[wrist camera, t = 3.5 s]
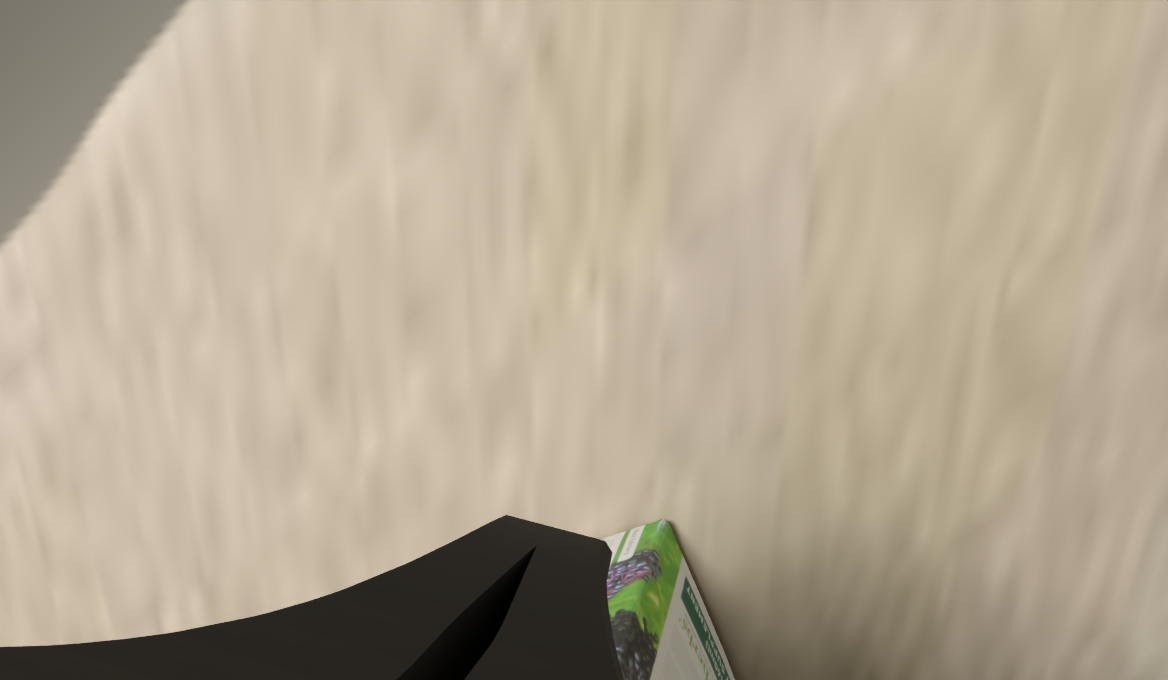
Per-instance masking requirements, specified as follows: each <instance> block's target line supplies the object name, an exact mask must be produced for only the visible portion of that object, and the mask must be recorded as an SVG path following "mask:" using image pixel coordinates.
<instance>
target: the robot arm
mask: <svg viewBox="0 0 1168 680" xmlns="http://www.w3.org/2000/svg"><path fill="white" fill-rule="evenodd" d="M611 558H612V551H611V549H610V548H609V546H608V545H607V543H606V541H603V540H599V539H596V538H592V537H588V536H584V535H580V534H577V533H573V532H569V531H565V530H561V529H557V528H554V527H550V526H546V525H542V524H538V523H535V522H531V521H527V520H523V519H519V518H516V517H512V516H508V515H506V516H503V517H501V518H498V519H496V520H494V521H492V522H490V523H488V524H486V525H484V526H482V527H480V528H478V529H476V530H474V531H472V532H470V533H468V534H467V535H465V536H463V537H461V538H459V539H457V540H455V541H453V542H451V543H449V544H447V545H445V546H442V547H440V548H438V549H436V550H434V551H432V552H430V553H428V554H426V555H424V556H422V557H420V558H418V559H416V560H414V561H411V562H409V563H407V564H405V565H402V566H400V567H397V568H395V569H393V570H390V571H388V572H385V573H383V574H380V575H378V576H375V577H373V578H371V579H368V580H366V581H363V582H361V583H358V584H356V585H354V586H351V587H349V588H346V589H344V590H341V591H338V592H335V593H332V594H330V595H327V596H323V597H320V598H317V599H314V600H311V601H308V602H305V603H301V604H298V605H294V606H291V607H287V608H284V609H280V610H277V611H273V612H270V613H266V614H262V615H258V616H254V617H249V618H244V619H239V620H234V621H229V622H224V623H219V624H214V625H209V626H204V627H200V628H195V629H190V630H185V631H180V632H174V633H167V634H160V635H153V636H145V637H138V638H130V639H122V640H111V641H101V642H91V643H81V644H67V645H52V646H23V647H0V680H624V677H623V674H622V670H621V666H620V663H619V659H618V656H617V651H616V647H615V642H614V638H613V632H612V626H611V620H610V614H609V608H608V598H607V577H608V572H609V567H610V562H611Z"/></svg>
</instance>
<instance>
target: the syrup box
mask: <svg viewBox="0 0 1168 680" xmlns="http://www.w3.org/2000/svg"><path fill="white" fill-rule="evenodd" d="M600 540H603V541H606V543H607V545H608V546H609V548H610V549H611V551H612V558H611V562H610V567H609V572H608V577H607V598H608V608H609V614H610V620H611V626H612V632H613V638H614V642H615V647H616V651H617V656H618V659H619V663H620V666H621V670H622V674H623V677H624V680H735V679H734V676H733V673H732V671H731V668H730V665H729V663H728V660H727V657H726V654H725V652H724V650H723V647H722V645H721V643H720V641H719V638H718V636H717V634H716V631H715V629H714V626H713V624H712V622H711V619H710V617H709V614H708V612H707V610H706V607H705V605H704V603H703V600H702V598H701V596H700V593H699V591H698V589H697V587H696V584H695V582H694V580H693V578H692V575H691V573H690V571H689V568H688V566H687V563H686V561H685V559H684V557H683V555H682V553H681V551H680V548H679V546H678V543H677V541H676V539H675V537H674V535H673V532H672V529H671V526H670V525H669V523H668V522H667V521H666V520H662V519H661V520H658V521H656V522H653V523H650V524H646V525H643V526H640V527H636V528H633V529H631V530H628V531H625V532H622V533H618V534H615V535H612V536H609V537H606V538H603V539H600Z"/></svg>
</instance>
